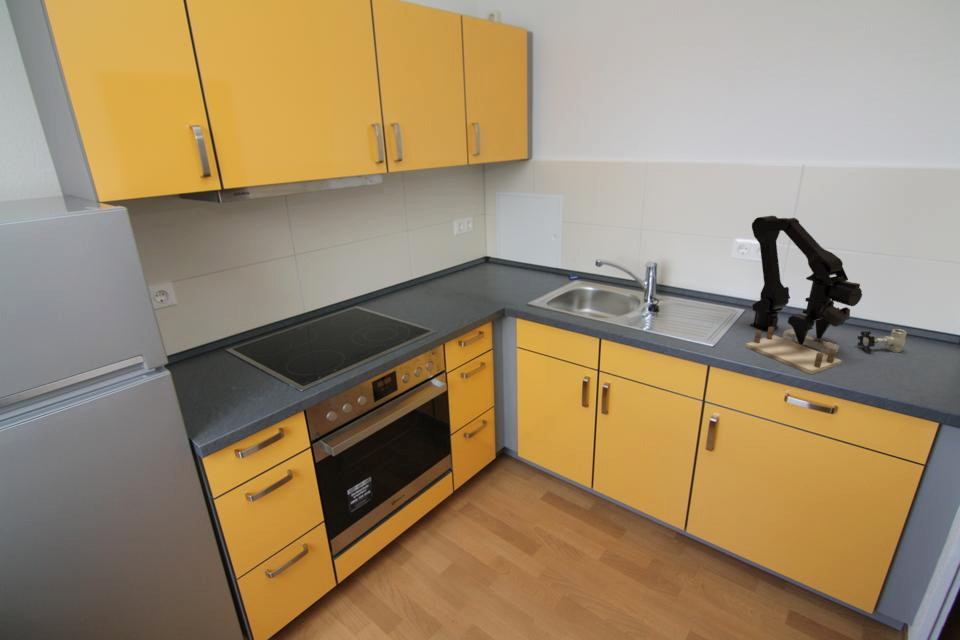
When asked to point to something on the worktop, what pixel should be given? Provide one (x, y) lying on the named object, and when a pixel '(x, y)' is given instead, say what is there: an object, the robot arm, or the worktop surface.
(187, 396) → the worktop surface
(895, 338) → the valve
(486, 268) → the worktop surface
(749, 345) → the peg board
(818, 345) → the beige stepped post
